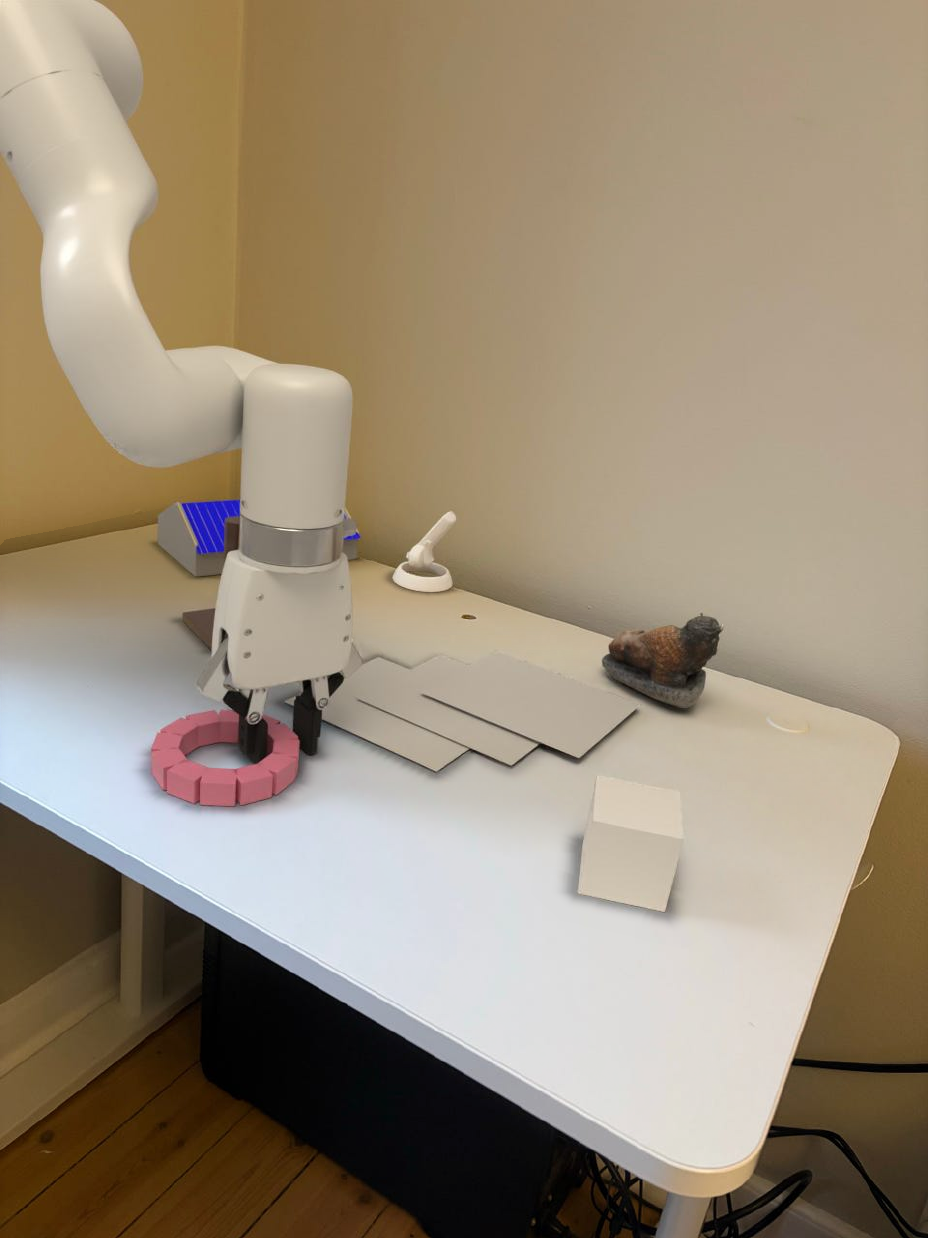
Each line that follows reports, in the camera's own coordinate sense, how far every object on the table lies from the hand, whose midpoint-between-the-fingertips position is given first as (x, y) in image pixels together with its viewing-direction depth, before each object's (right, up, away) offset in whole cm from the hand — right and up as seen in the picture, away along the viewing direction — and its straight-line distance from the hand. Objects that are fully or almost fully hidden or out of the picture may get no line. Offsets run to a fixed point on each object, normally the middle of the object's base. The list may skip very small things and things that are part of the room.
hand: (279, 750), depth 75 cm
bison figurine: (+34, +3, +20) cm, 40 cm away
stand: (-9, +10, +21) cm, 25 cm away
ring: (-4, -1, -3) cm, 5 cm away
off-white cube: (+26, -8, -9) cm, 29 cm away
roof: (-12, +19, +45) cm, 50 cm away
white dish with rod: (+10, +15, +42) cm, 46 cm away
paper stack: (+16, +2, +12) cm, 20 cm away
